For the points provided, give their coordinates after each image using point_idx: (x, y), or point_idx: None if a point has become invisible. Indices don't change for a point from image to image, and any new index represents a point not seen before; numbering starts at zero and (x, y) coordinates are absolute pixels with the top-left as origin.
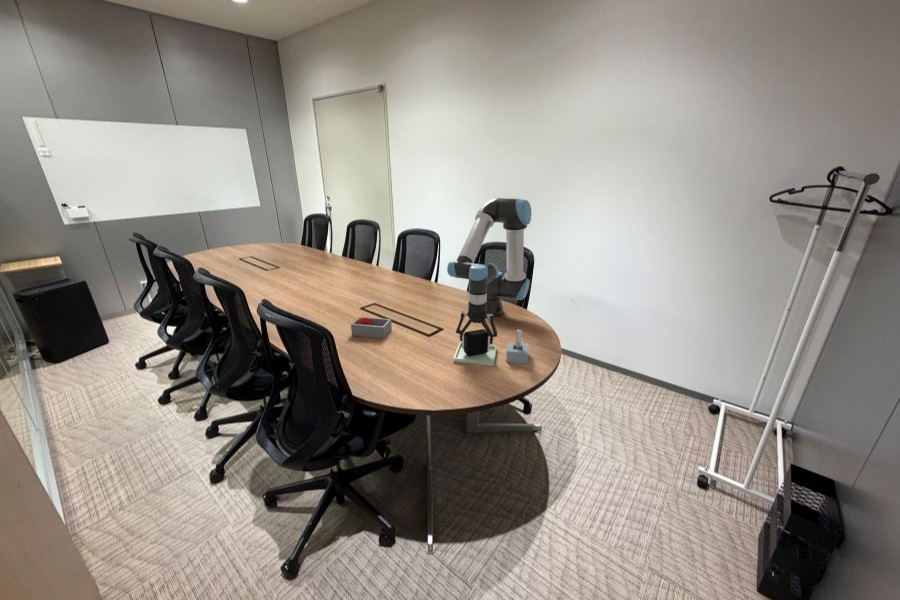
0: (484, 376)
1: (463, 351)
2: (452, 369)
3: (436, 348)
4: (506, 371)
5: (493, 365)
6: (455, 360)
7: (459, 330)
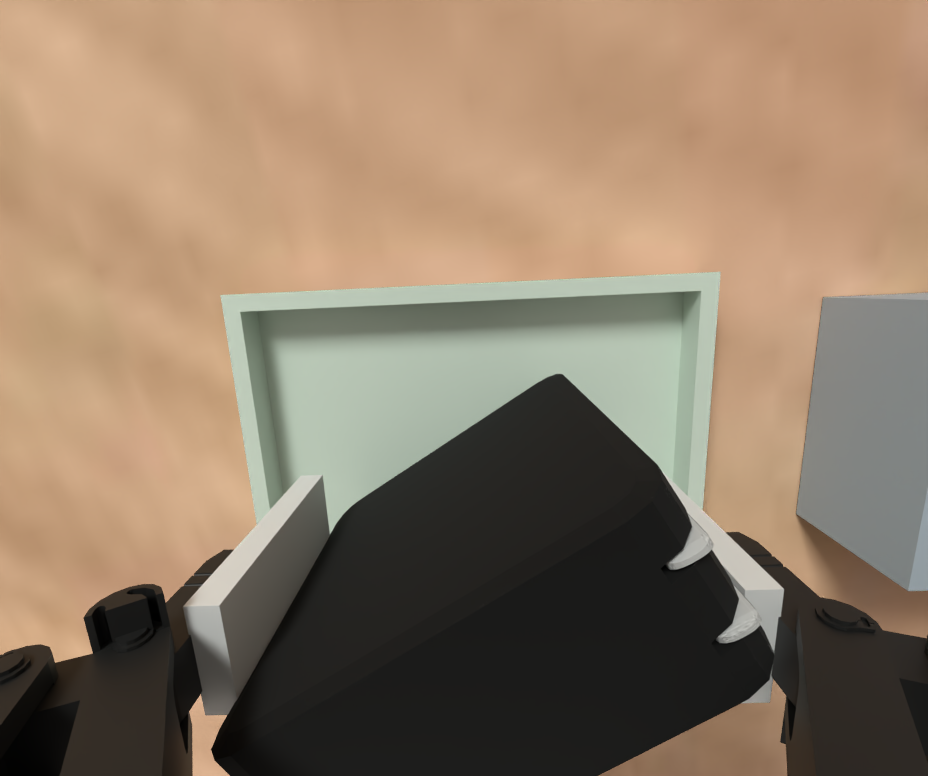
0: None
1: (331, 446)
2: None
3: (27, 425)
4: None
5: None
6: None
7: (53, 744)
